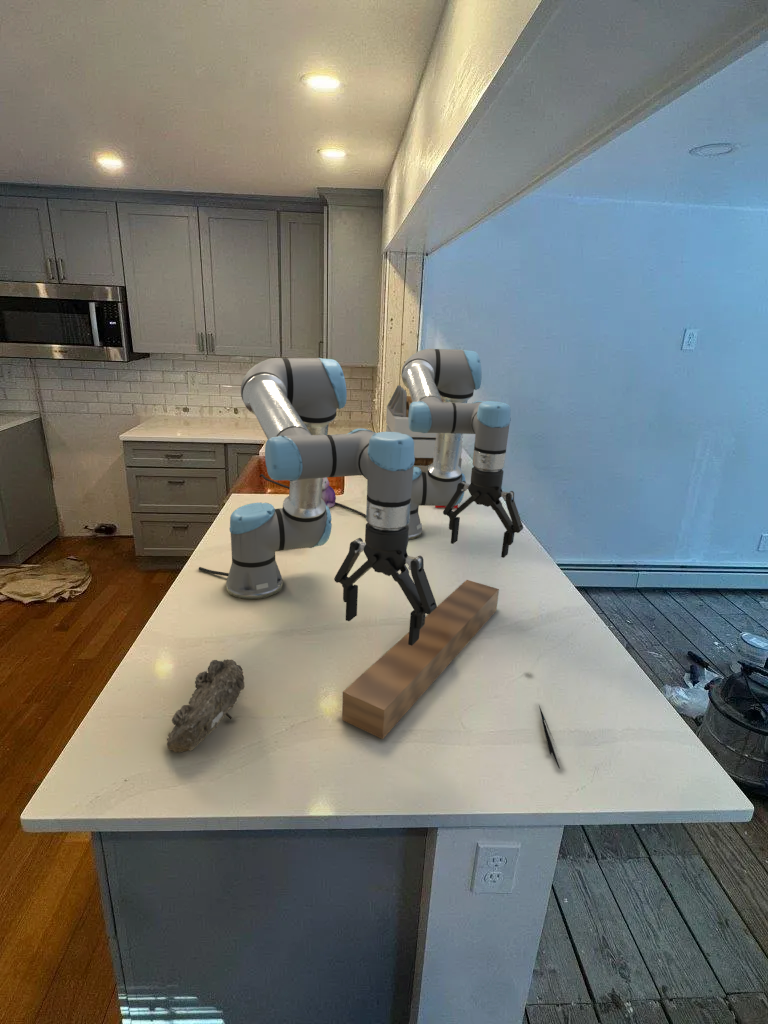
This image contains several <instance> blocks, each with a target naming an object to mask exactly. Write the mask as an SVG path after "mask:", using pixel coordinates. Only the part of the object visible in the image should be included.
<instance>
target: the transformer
mask: <svg viewBox="0 0 768 1024" xmlns="http://www.w3.org/2000/svg"><path fill="white" fill-rule="evenodd" d="M407 394H408V393H407V390H406V389H404V388H403V387H402V385H399V384H398V385H397V386H396V388H395V390H394V392H393V394H392V395H391V398H390V400H389V402H388V404H387V405H386V413H385V414H386V415H385V423H386V428H385V432H399V433H401V434H407V435H409V436H410V437H411V438H412V439H413V441H414V456H415V462H414V467H428V466H429V465H430V464H432V463H433V459H434V450H435V442H436V433H421V432H413V431H411V430H410V429H409V422H408V414H409V406H410V404H411V403H412V399H411V396H410V395H407ZM463 438H464V435H463V436H462V439H463ZM463 442H464V441H463V440H462V443H461V450H460V457H459V464H458V466H459V467H460V468H461V469H462V461H463V460H462V453H463Z"/></svg>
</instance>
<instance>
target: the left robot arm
mask: <svg viewBox="0 0 768 1024" xmlns="http://www.w3.org/2000/svg"><path fill="white" fill-rule="evenodd" d="M347 394H348V393H347V383H346V377H345V374H344V371H343V369H342V366H341V365H340V363H339V362H338V361H337V360H335V359H332V358H321V357H317V358H316V357H314V358H313V357H284V358H283V357H273V358H272V357H271V358H267V359H265V360H262V361H260V362H258V363H256V364H255V365H253V367H251V368H250V369H249V370H248V371H247V372H246V373H245V375H244V377H243V379H242V382H241V386H240V396H241V397H240V398H241V400H242V402H243V404H244V406H245V408H246V409H247V410H248V412H250V413H251V414H252V415H254V416H255V417H256V420H257V421H258V423H259V425H260V427H261V429H262V431H263V433H264V436H265V437H266V439H267V440H266V442H265V446H264V460H265V467H266V472H267V475H268V476H269V479H270V480H272V481H289V487H290V489H288V490H289V491H288V494H289V495H287V496H286V497H285V498H284V500H283V501H282V507H279V508H275V507H274V505H273V504H272V503H269V502H252V503H247V504H244V505H242V506H239V507H237V508H236V509H235V510H234V511H232V512H231V514H230V518H229V532H230V547H231V548H230V549H231V565H230V568H229V572H224V571H217V570H212V569H209V568H205V567H201V566H199V567H198V571H201V572H203V573H208V574H212V575H218V576H223V577H227V578H226V581H225V585H226V586H225V587H226V591H227V593H228V594H229V595H230V596H232V597H235V598H238V599H243V600H260V599H265V598H266V599H267V598H269V597H271V596H274V595H277V593H279V592H280V591H281V590H282V588H283V586H284V585H283V576H282V573H281V571H280V569H279V566H278V563H277V561H276V552H281V551H282V552H284V551H291V550H301V549H314V548H315V547H322V546H324V545H325V544H326V543H327V542H328V541H329V540H330V536H331V533H332V527H333V525H332V512H331V509H330V508H328V506H326V504H325V502H324V500H323V499H321V495H322V485H323V478H326V477H327V478H340V477H341V478H342V477H354V476H355V477H356V476H362V477H364V478H365V479H366V480H367V483H366V508H365V509H366V512H365V515H366V517H365V521H366V524H365V529H364V530H365V531H364V532H365V533H364V540H363V538H362V537H358V538H356V539H355V540H352V541H351V542H350V543H349V547H348V553H347V554H346V557H345V558H344V560H343V562H342V563H341V565H340V567H339V569H338V571H337V572H336V574H335V576H334V577H333V580H334V582H335V583H338V584H340V585H341V586H342V601H343V603H345V621H346V622H351V620H353V619H354V618H355V617H357V616H358V595H359V585H357V584H355V583H356V582H357V581H358V580H360V579H361V578H362V577H363V576H364V575H365V574H366V573H367V572H368V571H369V570H371V569H373V570H374V572H375V573H378V574H383V575H385V576H387V577H390V576H391V577H392V579H393V581H395V582H397V584H398V585H399V588H400V589H401V591H402V592H403V594H404V596H405V597H406V599H407V601H408V603H409V604H410V605H411V607H412V609H413V610H411V612H410V613H409V614H410V617H409V627H408V628H409V629H408V632H409V641H408V644H409V645H411V646H412V645H413V644H414V643H415V642H416V641H417V640H418V639H419V633H420V629H421V628H422V627H423V626H424V624H425V617H426V616H427V615H428V614H430V613H431V612H432V611H433V610H434V609H435V608H436V607H437V606H438V604H437V602H436V599H435V596H434V594H433V591H432V588H431V585H430V583H429V580H428V576H427V574H426V570H425V567H424V563H425V562H424V557H423V556H422V555H418V556H415V557H414V556H410V555H408V550H407V549H408V545H409V540H408V535H409V526H408V524H409V522H410V505H411V491H412V480H413V468H414V467H415V466H414V462H415V456H414V441H413V439H412V438H411V437H410V436H409V435H407V434H401V433H399V432H386V431H379V432H375V431H373V430H370V429H367V428H363V427H359V428H355V429H353V430H350V431H349V432H348V433H339V434H338V433H337V434H329V425H330V423H331V422H333V421H335V419H336V416H337V409H338V410H341V409H344V408H345V407H346V405H347V397H348V395H347ZM362 552H363V553H364V555H365V558H366V561H365V562H364V563H362V564H361V565H360V567H359V568H357V569H356V570H355V571H354V572H353V573H352V574H351V575H349V574H350V572H351V570H352V569H353V567H354V565H355V564H356V561H357V560H358V557H359V556H360V555H361V553H362ZM406 565H407V566H408V567H407V566H406ZM399 571H400V573H399ZM410 574H411V575H410ZM348 575H349V576H348Z"/></svg>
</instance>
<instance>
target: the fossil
mask: <svg viewBox="0 0 768 1024" xmlns="http://www.w3.org/2000/svg"><path fill="white" fill-rule="evenodd" d="M243 670H244V669H243V667H242V665H240V664H237V662H236V661H235V660H234V659H232V658H231V659H227V658H226V659H224V660H223V661H222V660H217V659H212V660H211V661H210V663H209V665H208V666H207V671H201V672H199V673H198V674H197V675H196V676H195V680H194V684H195V685H194V687H195V689H194V690H193V693H192V694H191V697H190V698H189V700H188V704H184V705H182V706H181V707H180V709H177V710H176V711H175V713H174V715H173V716H172V718H171V723H172V724H173V727H172V730H171V731H170V732H168V734H167V738H166V741H167V742H166V745H167V749H168V750H169V751H173V752H174V753H176V754H178V753H182V752H188V751H189V752H192V751H193V750H195V748H196V747H197V746H199V744H200V743H201V742H203V741H204V740H205V739H206V738H207V737H208V736H209V735H210V734H211V733H212V732H214V730H215V729H217V727H218V726H219V724H220V722H221V721H222V720H223V719H224V718H225V716H226V717H227V719H229V720H233V717H232V715H230V714H229V710H230V709H231V708H234V706H235V704H236V703H237V702H238V699H239V697H240V695H241V693H242V691H243V690H245V689H244V688H245V675H244V671H243Z"/></svg>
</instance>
